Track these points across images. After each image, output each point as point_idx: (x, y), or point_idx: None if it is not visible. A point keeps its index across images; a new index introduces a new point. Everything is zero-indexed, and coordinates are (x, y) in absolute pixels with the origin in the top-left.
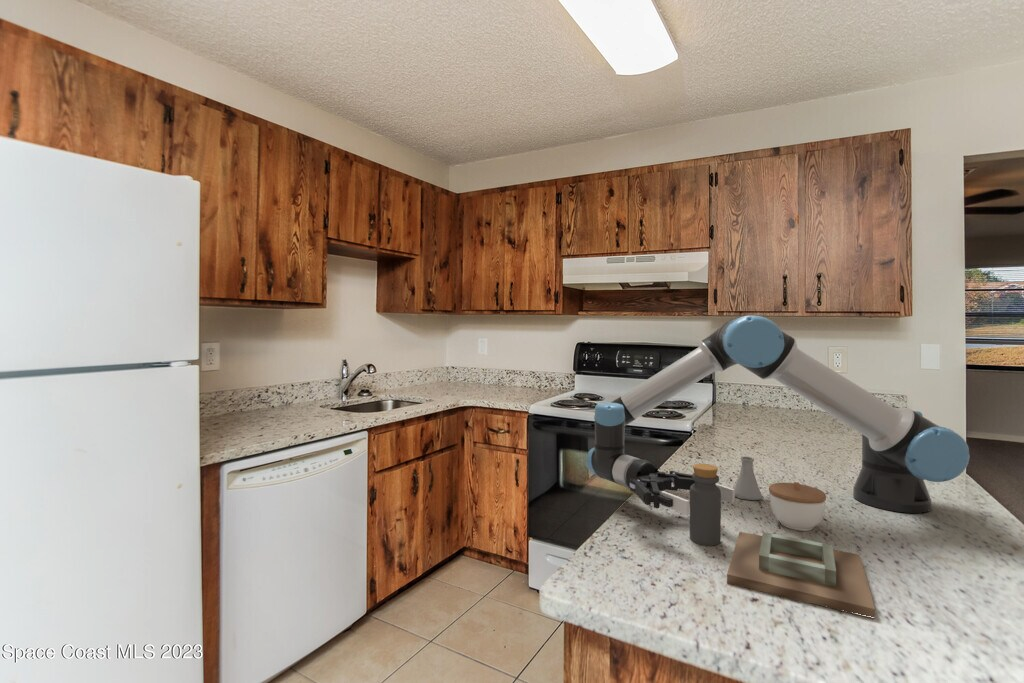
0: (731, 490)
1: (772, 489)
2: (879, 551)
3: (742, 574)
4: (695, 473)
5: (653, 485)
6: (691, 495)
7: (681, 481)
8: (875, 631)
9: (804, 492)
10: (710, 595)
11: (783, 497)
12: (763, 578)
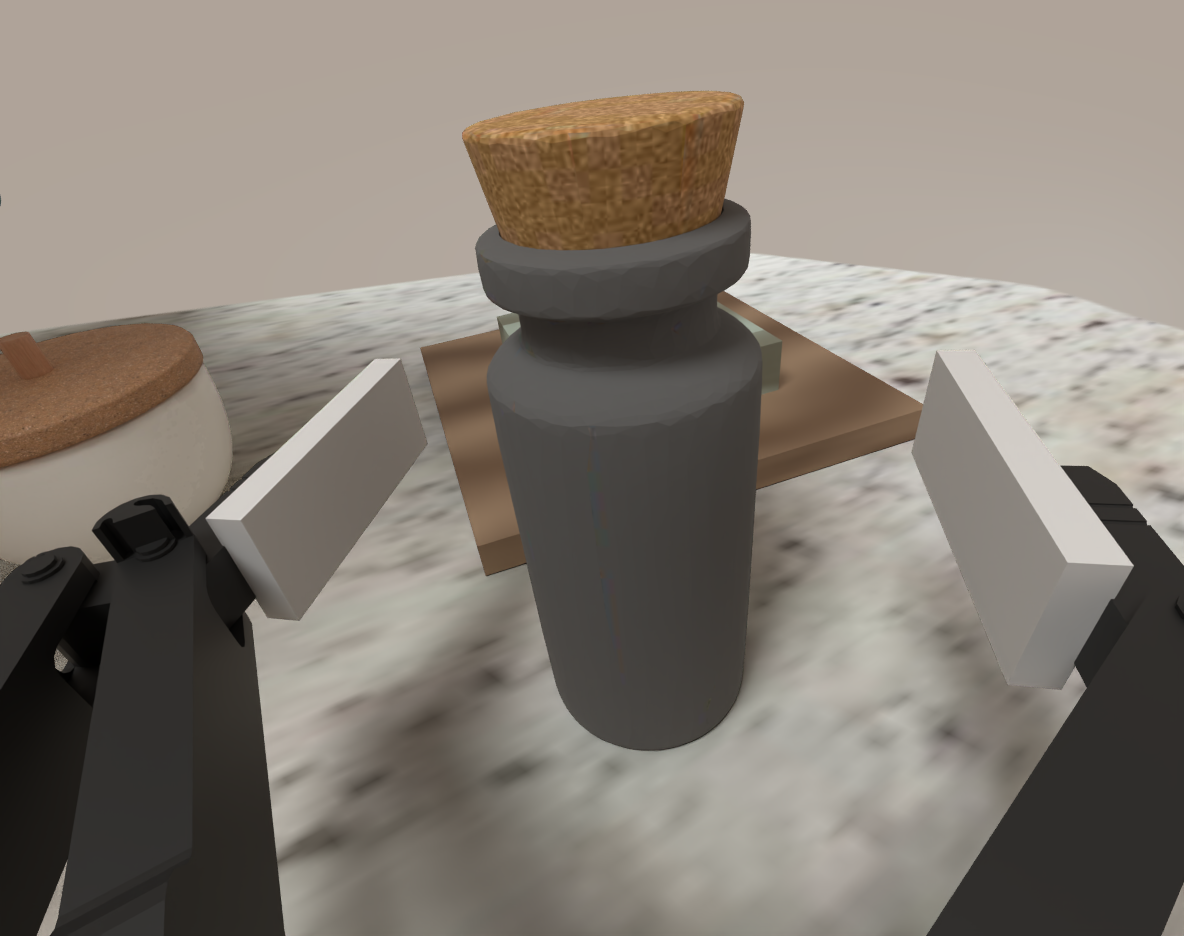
0: (397, 368)
1: (62, 414)
2: (306, 375)
3: (868, 393)
4: (718, 194)
5: (1110, 895)
6: (749, 438)
7: (217, 828)
8: (751, 293)
9: (92, 350)
10: (1052, 424)
11: (167, 386)
12: (821, 367)
